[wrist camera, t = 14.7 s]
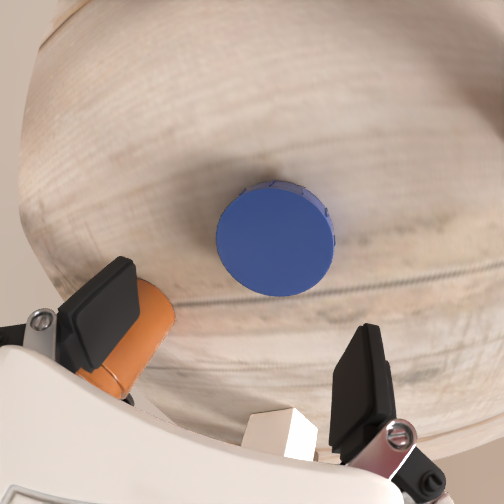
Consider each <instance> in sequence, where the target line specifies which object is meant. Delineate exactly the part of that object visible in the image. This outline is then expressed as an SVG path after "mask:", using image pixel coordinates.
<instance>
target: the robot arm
mask: <svg viewBox="0 0 504 504" xmlns="http://www.w3.org/2000/svg"><path fill="white" fill-rule="evenodd" d="M58 311H59V312H58V313H57V314H55V312H54V311H53V310H50V309H46V308H43V309H39V310H36V311H35V312H33V313H32V314H31V315H30V316H29V318H28V320H27V323H26V324H20V325H14V326H7V327H0V504H454V502H453V500H452V498H451V496H450V494H449V493H448V492H447V493H445V492H444V489H445V485H446V478H445V475H444V473H443V472H442V471H441V469H439V468H438V467H437V466H436V465H435V464H434V463H433V462H432V461H431V460H430V459H429V458H428V457H427V456H426V455H424V454H423V453H422V452H421V451H420V450H419V449H418V448H417V447H416V446H415V445H416V443H417V433H416V430H415V428H414V426H413V425H412V424H411V423H410V422H408V421H406V420H404V419H397V417H396V408H395V399H394V391H393V384H392V377H391V370H390V365H389V362H388V361H386V360H385V355H384V349H383V343H382V338H381V332H380V328H379V326H377V325H372V324H368V323H365V324H364V325H363V326H359V327H358V328H357V330H356V332H355V334H354V336H353V338H352V339H351V341H350V343H349V345H348V347H347V348H346V350H345V352H344V354H343V355H342V357H341V359H340V360H339V362H338V364H337V365H336V367H335V369H334V372H333V385H332V405H331V421H330V433H329V446H332V453H339V454H340V460H341V461H340V462H339V463H338V464H330V463H323V462H316V461H309V460H302V459H296V458H291V457H285V456H280V455H275V454H270V453H266V452H261V451H257V450H253V449H248V448H245V447H241V446H237V445H233V444H230V443H226V442H223V441H220V440H216V439H213V438H210V437H207V436H204V435H201V434H198V433H195V432H192V431H190V430H187V429H184V428H182V427H179V426H176V425H174V424H171V423H169V422H166V421H164V420H162V419H159V418H157V417H155V416H152V415H150V414H148V413H146V412H143V411H141V410H139V409H137V408H135V407H133V406H131V405H129V404H127V403H125V402H123V401H121V400H119V399H117V398H115V397H113V396H111V395H110V394H108V393H106V392H104V391H102V390H101V389H99V388H97V387H95V386H94V385H92V384H90V383H88V382H87V381H85V380H84V379H82V378H80V377H79V369H80V368H81V367H82V369H84V370H85V371H87V372H89V373H90V374H91V373H92V372H93V371H94V370H95V369H98V368H99V367H100V366H101V365H102V363H103V362H104V361H105V360H106V358H107V357H108V356H109V354H110V353H111V352H112V351H113V349H114V348H115V347H116V346H117V344H118V343H119V342H120V340H121V339H122V338H123V337H124V335H125V334H126V333H127V332H128V330H129V329H130V328H131V327H132V326H133V324H134V323H135V322H136V321H137V319H138V318H139V316H140V305H139V296H138V287H137V276H136V266H135V264H133V261H132V260H131V259H128V258H125V257H122V256H119V257H117V258H116V259H115V260H114V261H112V262H111V263H110V264H109V265H107V266H106V267H105V268H104V269H103V270H101V271H100V272H99V273H98V274H97V275H95V276H94V277H93V278H92V279H91V280H90V281H88V282H87V283H86V284H85V285H84V286H83V287H81V288H80V289H79V290H78V291H77V292H76V293H75V294H73V295H72V296H71V297H70V298H69V299H68V300H67V301H66V302H65V303H63V304H62V305H61V306H60V307H59V308H58Z"/></svg>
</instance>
